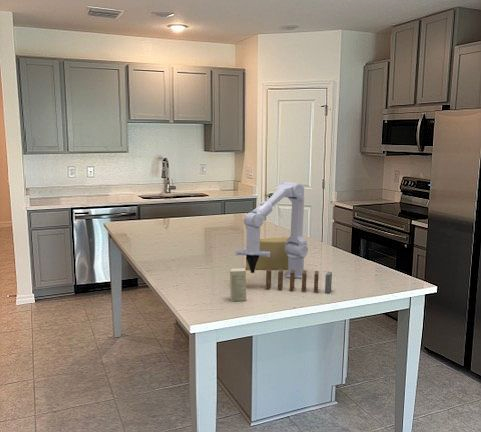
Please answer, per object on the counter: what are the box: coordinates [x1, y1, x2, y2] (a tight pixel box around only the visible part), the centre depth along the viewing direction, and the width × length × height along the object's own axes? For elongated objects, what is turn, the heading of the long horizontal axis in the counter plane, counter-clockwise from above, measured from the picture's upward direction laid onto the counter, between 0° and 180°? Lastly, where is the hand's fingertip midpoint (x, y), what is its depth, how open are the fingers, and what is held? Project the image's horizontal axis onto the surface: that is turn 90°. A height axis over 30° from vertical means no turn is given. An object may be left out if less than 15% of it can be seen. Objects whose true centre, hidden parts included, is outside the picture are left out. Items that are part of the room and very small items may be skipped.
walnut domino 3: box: [289, 269, 296, 292], centre depth 204 cm, size 2×5×8 cm, turn 170°
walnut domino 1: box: [265, 268, 272, 291], centre depth 205 cm, size 2×5×8 cm, turn 170°
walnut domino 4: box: [301, 269, 308, 293], centre depth 203 cm, size 2×5×8 cm, turn 169°
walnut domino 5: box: [313, 270, 320, 294], centre depth 202 cm, size 2×5×8 cm, turn 170°
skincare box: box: [229, 267, 247, 302], centre depth 190 cm, size 6×4×12 cm
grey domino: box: [324, 271, 333, 295], centre depth 201 cm, size 2×5×8 cm, turn 158°
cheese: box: [245, 236, 289, 271], centre depth 235 cm, size 22×10×15 cm, turn 103°
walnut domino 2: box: [277, 269, 284, 292], centre depth 204 cm, size 2×5×8 cm, turn 169°
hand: (252, 272), depth 206 cm, fingers closed
